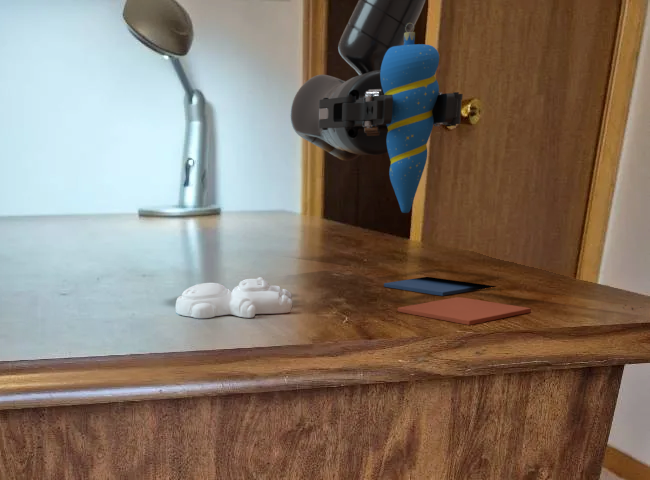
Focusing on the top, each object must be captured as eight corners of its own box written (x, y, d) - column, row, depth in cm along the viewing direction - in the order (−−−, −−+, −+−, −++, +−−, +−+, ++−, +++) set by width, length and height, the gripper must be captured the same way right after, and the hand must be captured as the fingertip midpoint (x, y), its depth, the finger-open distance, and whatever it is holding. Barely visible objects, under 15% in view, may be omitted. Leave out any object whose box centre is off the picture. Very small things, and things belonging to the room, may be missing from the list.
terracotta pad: (458, 300, 83) (458, 296, 83) (530, 312, 76) (531, 308, 76) (397, 311, 78) (397, 307, 78) (469, 325, 72) (469, 320, 72)
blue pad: (436, 278, 97) (436, 275, 97) (496, 286, 90) (496, 283, 90) (383, 286, 92) (383, 283, 92) (442, 296, 86) (443, 292, 85)
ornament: (437, 214, 71) (450, 17, 65) (380, 217, 71) (387, 20, 65) (425, 209, 76) (436, 24, 69) (371, 211, 76) (377, 27, 69)
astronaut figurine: (290, 318, 76) (291, 285, 75) (169, 319, 78) (167, 287, 76) (294, 302, 84) (294, 272, 83) (184, 303, 85) (182, 274, 84)
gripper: (300, 74, 80) (339, 58, 65) (437, 71, 82) (505, 55, 66) (300, 156, 84) (336, 159, 68) (431, 152, 85) (494, 154, 70)
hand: (419, 108), depth 68 cm, fingers closed on ornament, 5 cm apart
